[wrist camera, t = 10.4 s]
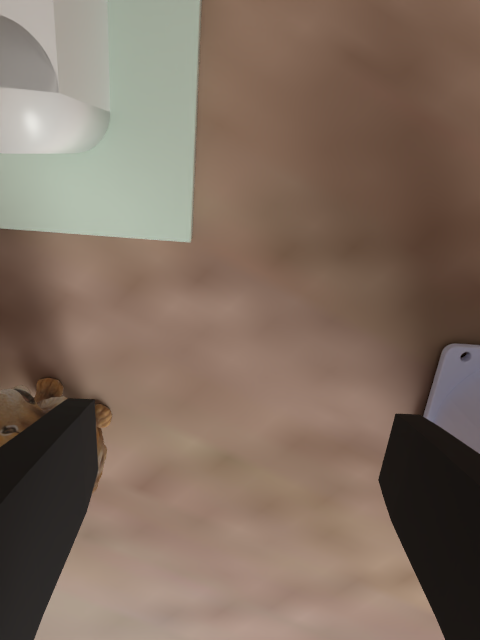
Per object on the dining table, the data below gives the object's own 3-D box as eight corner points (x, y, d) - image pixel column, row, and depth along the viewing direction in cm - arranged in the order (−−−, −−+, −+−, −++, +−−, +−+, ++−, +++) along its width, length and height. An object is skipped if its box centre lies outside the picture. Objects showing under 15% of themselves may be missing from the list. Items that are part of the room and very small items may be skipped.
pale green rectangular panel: (207, -144, 13) (206, -167, 12) (192, 237, 18) (190, 242, 17) (-94, -186, 12) (-119, -213, 12) (-31, 221, 17) (-46, 224, 16)
